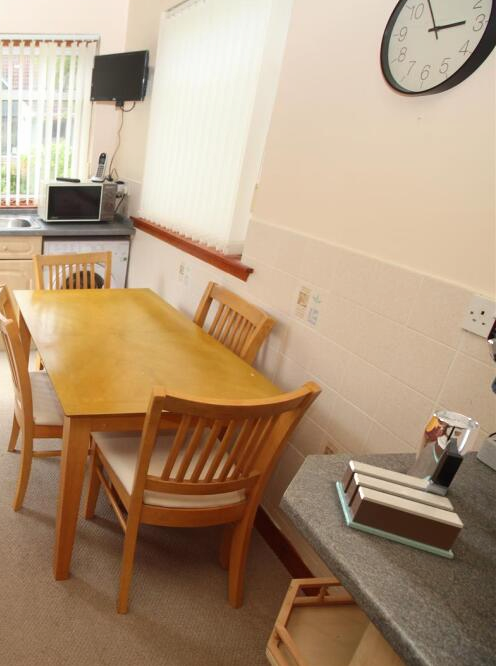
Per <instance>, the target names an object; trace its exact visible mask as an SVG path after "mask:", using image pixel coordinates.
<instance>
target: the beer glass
mask: <svg viewBox="0 0 496 666" xmlns="http://www.w3.org/2000/svg"><path fill="white" fill-rule="evenodd" d="M481 428H482V427H481V424H480V423H479V422H478V421H476V420H475V419H473V418H471V417H469V416H468V415H465V414H462V413H459V412H456V411H453V410H449V409H448V410H447V409H434V410H433V411H432V413H431V414H430V417H429V418H428V419H427V421H426V423H425V424H424V426H423V428H422V431H421V433H420V436H419V439H418V444H417V450H416V454H415V459H414V461H413V462H412V465H411V466H410V467H409V468H408V470H407V471H406V472H405V473H404V475H408V476H412V477H416V478H419V479H423V480H427V481H430V480H431V478H432V476H433V474H434V472H435V470H436V468H437V466H438V464H439V462H440V460H441V458H442V456H443V454H444V452H445V451H450V452H454V453H458V454H461V456H462V457H463V458H464V459H465V458H467V456H468V455H469V453H470V451H472V448H473V446H474V444H475V442H476V440H477V437H478V434H479V432H480V429H481Z"/></svg>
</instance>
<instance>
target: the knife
mask: <svg viewBox="0 0 496 666" xmlns="http://www.w3.org/2000/svg"><path fill="white" fill-rule="evenodd" d="M464 460H465V458H463V457H462V456H461V454H458V453H454V452H450V451H445V452H444V454H443V456H442V458H441V460H440V462H439V464H438V466H437V468H436V470H435V472H434V474H433V476H432V478H431V480H430V482H429V483H428V485H427V487H426V489H425V491H424V492H427V493H430V494H434V495H437V496H441V497H445V496H446V493H447V491H448V489H449V487H450V486H451V484H452V482H453V480H454V478H455V477H456V475H457V473H458V471H459V469H460V467H461V466H462V463H463V462H464Z"/></svg>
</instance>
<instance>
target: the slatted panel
mask: <svg viewBox="0 0 496 666" xmlns="http://www.w3.org/2000/svg"><path fill="white" fill-rule="evenodd" d="M429 482H430V481H427V480H423V479H419V478H416V477H412V476H408V475H405V473H400V472H397V471H393V470H389V469H385V468H382V467H378V466H375V465H371V464H368V463H364V462H359V461H357V460H353V459H350V461H349V463H348V465H347V468H346V470H345V473H344V475H343V478H342V480H341V481H338V480H337V481H336V483H335V487H336V490H337V493H338V497H339V500H340V503H341V507H342V511H343V514H344V517H345V521H346V524H347V527H350V528H353V529H356V530H359V531H361V532H365V533H368V534H371V535H375V536H378V537H381V538H383V539H388V540H391V541H394V542H397V543H400V544H402V545H406V546H409V547H413V548H416V549H418V550H422V551H425V552H428V553H431V554H435V555H438V556H441V557H444V558H447V559H451V560H452V559H454V556H455V555H454V553H453V552H452V547H453V545H454V544H455V542H456V540H457V538H458V536H459V535H460V533H461V531H462V529H463V528H464V524H463V522H462V520H461V519H460V517H459V514H458V513H455V512H453V511H454V506H453V505H452V503H451V501H450V500H449V498H448V497H445V496H444V497H441V496H437V495H434V494H430V493H427V492H424V491H425V489H426V487H427V485H428V483H429Z"/></svg>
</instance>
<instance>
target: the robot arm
mask: <svg viewBox="0 0 496 666" xmlns="http://www.w3.org/2000/svg"><path fill="white" fill-rule="evenodd" d="M487 345H488V349H489V352H490V357H491V358H492V360H493V361H494V363H495V364H496V338H491V339H489V340H487ZM490 387H491V389H492V390H491V391H492V392H493V393H494V394H495V395H496V376H495V377H494V379H493V381H492V383H491V385H490Z"/></svg>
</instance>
